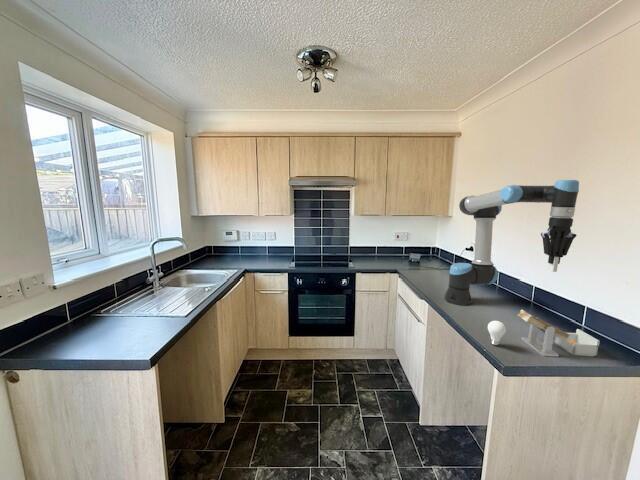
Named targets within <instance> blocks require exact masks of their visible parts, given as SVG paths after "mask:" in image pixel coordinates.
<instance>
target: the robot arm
mask: <svg viewBox="0 0 640 480" xmlns="http://www.w3.org/2000/svg"><path fill="white" fill-rule="evenodd" d="M579 187H580V181H579V180H577V179H558V180H556V181H555V182H554V185H518V184H511V185H505V186H503V188H502V189H499V190H494V191H491V192H487V193H484V194H479V195H469V196H465V197H463V198H462V199H461V200H460V202H459V205H458V207H459V210H460V211H461V213H463V214H464V215H467V216H473V219H474V220H475V223H476V224H475V236H474V237H475V239H474V242H475V244H474V256H473V257H474V259H473V260H472V261H471V262H470V263H467V262H455V263H453V264H451V265H450V267H449V277H448V287H447V289H446V291H445V293H444V295H443V297H444V298H443V299H444V300H445V301H446V302H448V303H450V304H452V305H453V304H454V305H457V306H458V305H459V306H469V305H471V304H472V301H473V299H472V295H471V291H470V288H471V286H476V285H479V286H481V285H483V286H487V285H493V284H494V283H495V282H496V281H497V280H498V276H499V273H498V269H497V266H494V263H493V261H492V243H493V228H494V227H493V226H494V221H495V220H496V219H497V216H498V215H499V214H501V211H502V207H503V206H504V205H509V204H510V205H511V204H514V203H515V204H516V203H537V204H538V203H551V207H550V212H549V216H550V217H549V218H548V229H547V231H544V232H541V233H540V235H541V238H542V246H543V254H545V255H546V256H548V260H547V263H548V269H547V270H548V271H550V272H555V273H557V271H558V265H559V264H560V263H561V258H563V257H564V256H567V254H568V253H569V249H570V248H571V245H572V243H573V241H574V239H575V238H576V237H577V234H576V233H573V232H572V229H571V228H572V226H573V223H574V219H573V218H574V216H575V211H576V204H577V198H578V194H579V191H580V188H579Z"/></svg>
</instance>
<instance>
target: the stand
mask: <svg viewBox="0 0 640 480" xmlns="http://www.w3.org/2000/svg"><path fill="white" fill-rule="evenodd" d="M535 317H536V316H535ZM536 318H538V319H540V318H539V317H536ZM538 331H539V329H538V328H537V327H536V326H534V325H532V324H530V323H529V331H528V336H521V338H520V339H521V340H522V341H523V342H525V344H527V345H528V346H529V347H531V348H532V349H533V350H535V352H537V353H538V354H539V355H541V356H543V357H553V358H554V357H556V358H558V357H559V354H558V353H557V352H556V351H555V350H553V349H552V348H553V343H554V339H555V338H554V337H555V335H554V332H555V328H553V327H546V330H545V333H544V337H543V342H542V341H541V340H540V339H538V333H539V332H538Z"/></svg>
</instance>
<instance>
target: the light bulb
mask: <svg viewBox="0 0 640 480" xmlns="http://www.w3.org/2000/svg"><path fill="white" fill-rule="evenodd" d="M487 331H488V332H489V334H490V339H491V340H490V344H492V345H493V346H498V345H499V344H500V341H501V338H503V336H504V335H505V334H506V332H507V328H506V326H505V324H504V323H503V322H501V321H499V320H492V321H490V322H489V323H488V324H487Z"/></svg>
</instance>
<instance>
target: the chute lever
mask: <svg viewBox="0 0 640 480" xmlns="http://www.w3.org/2000/svg"><path fill="white" fill-rule="evenodd" d="M517 316H518V317H519V318H521V319H522V320H523V321H525V322H526V323H527V324H529V325H530V324H532V325H534V326H536V327H537V328H538V330H540V331H542V332H543V333H544V334H545V330H546V327H553V328H555V332H554V336H558V337H561V338H563V339H565V340H567V338H568V337H569V334H567V333H568V332H566V331H563V330H560V328H559V327H557V326H555V325H553V324H550V323H548V322H546V321H544V320H542V319H540V318H539V317H537V318H536V316H533V315H532V314H530V313H528V312H527V311H526V310H524V309H521V310H519V312H518V314H517ZM538 318H539V319H538Z"/></svg>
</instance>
